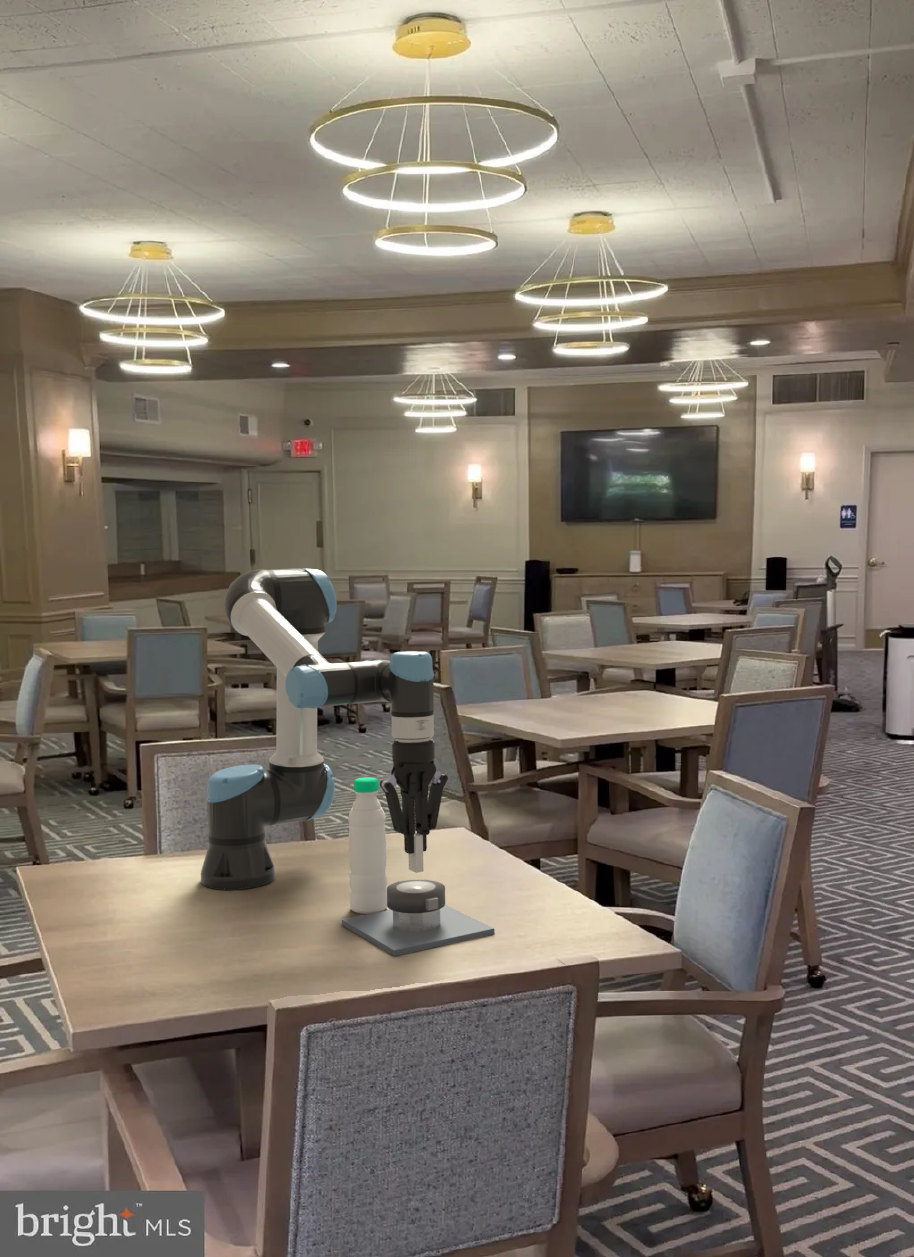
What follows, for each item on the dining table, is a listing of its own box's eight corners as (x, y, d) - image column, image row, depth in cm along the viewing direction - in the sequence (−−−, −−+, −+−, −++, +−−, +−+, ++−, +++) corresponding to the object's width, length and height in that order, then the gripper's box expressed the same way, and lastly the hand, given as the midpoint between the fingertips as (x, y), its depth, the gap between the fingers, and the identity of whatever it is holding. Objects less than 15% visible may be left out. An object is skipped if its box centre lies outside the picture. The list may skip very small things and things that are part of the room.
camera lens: (374, 914, 205) (374, 883, 205) (424, 904, 211) (423, 874, 211) (407, 932, 195) (407, 900, 195) (459, 921, 201) (458, 890, 200)
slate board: (341, 924, 206) (341, 919, 206) (436, 905, 217) (436, 900, 217) (394, 956, 189) (394, 950, 189) (494, 933, 200) (494, 928, 200)
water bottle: (381, 915, 211) (379, 782, 210) (345, 914, 213) (342, 781, 211) (391, 904, 218) (389, 775, 217) (356, 902, 220) (353, 774, 218)
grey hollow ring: (384, 921, 204) (384, 902, 204) (425, 913, 209) (425, 894, 209) (407, 934, 197) (407, 914, 197) (449, 925, 202) (448, 906, 201)
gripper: (390, 745, 194) (394, 881, 196) (455, 737, 201) (458, 869, 203) (370, 740, 201) (373, 871, 202) (434, 733, 208) (436, 860, 209)
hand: (416, 870), depth 202 cm, fingers closed
